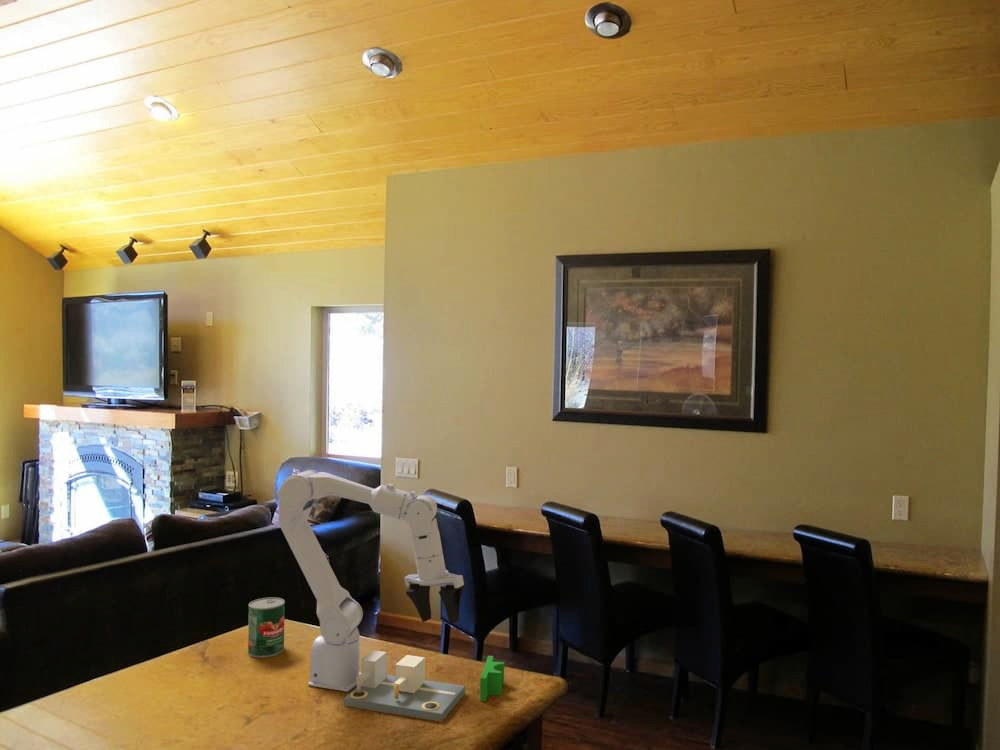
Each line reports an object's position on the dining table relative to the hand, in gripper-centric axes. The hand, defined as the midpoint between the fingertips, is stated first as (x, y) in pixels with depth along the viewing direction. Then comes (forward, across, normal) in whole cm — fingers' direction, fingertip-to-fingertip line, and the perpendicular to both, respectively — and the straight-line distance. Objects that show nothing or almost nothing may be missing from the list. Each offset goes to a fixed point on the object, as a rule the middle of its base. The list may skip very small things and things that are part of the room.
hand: (440, 621), depth 138 cm
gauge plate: (+12, +3, +10) cm, 16 cm away
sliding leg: (+10, +3, +10) cm, 14 cm away
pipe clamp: (+15, -7, -4) cm, 17 cm away
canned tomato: (+5, +45, +11) cm, 47 cm away
